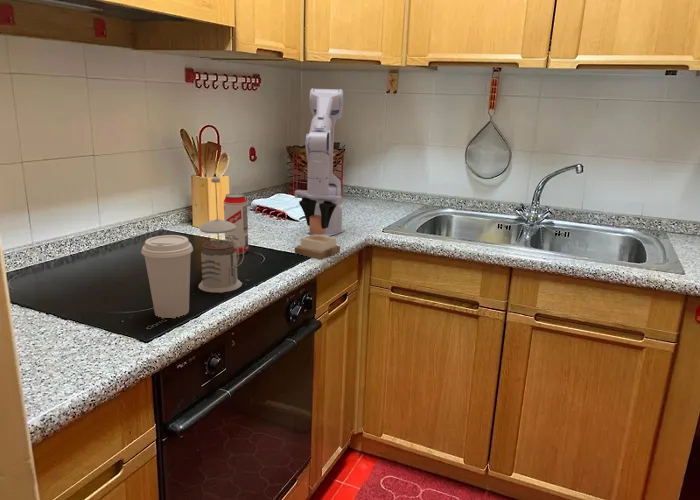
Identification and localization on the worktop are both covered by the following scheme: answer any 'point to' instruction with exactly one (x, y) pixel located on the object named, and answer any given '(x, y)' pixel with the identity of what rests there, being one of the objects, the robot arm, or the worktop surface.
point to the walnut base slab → (317, 252)
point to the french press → (224, 275)
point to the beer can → (237, 220)
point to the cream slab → (318, 242)
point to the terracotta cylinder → (316, 225)
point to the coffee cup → (169, 274)
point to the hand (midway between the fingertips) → (317, 226)
